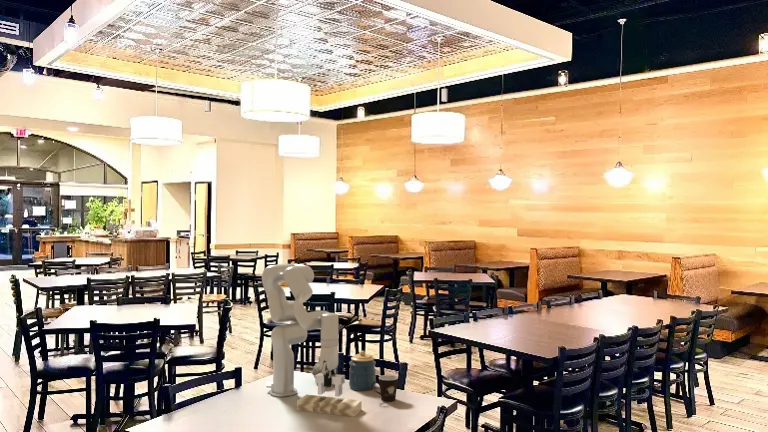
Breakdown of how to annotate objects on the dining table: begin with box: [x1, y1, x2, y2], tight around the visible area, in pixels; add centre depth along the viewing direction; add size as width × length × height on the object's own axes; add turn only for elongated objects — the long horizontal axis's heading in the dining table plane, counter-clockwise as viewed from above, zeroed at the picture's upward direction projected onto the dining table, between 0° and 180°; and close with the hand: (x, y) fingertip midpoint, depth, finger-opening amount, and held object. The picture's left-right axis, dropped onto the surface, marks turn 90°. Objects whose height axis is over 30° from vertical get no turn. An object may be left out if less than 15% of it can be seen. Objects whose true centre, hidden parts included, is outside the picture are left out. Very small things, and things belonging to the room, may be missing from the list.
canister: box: [348, 350, 377, 392], centre depth 282 cm, size 13×13×18 cm
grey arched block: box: [314, 373, 346, 397], centre depth 248 cm, size 12×4×8 cm, turn 71°
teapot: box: [312, 355, 329, 379], centre depth 292 cm, size 21×12×15 cm, turn 168°
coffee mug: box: [371, 374, 399, 403], centre depth 262 cm, size 12×9×10 cm
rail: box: [296, 394, 363, 418], centre depth 248 cm, size 26×9×4 cm, turn 71°
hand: (329, 385), depth 248 cm, fingers closed on grey arched block, 4 cm apart
